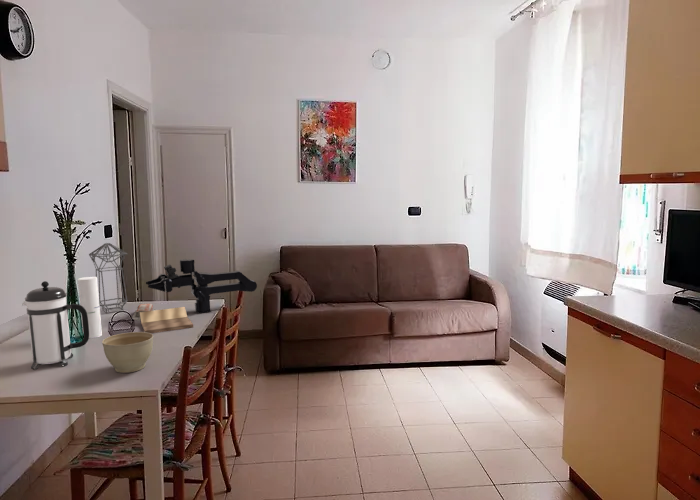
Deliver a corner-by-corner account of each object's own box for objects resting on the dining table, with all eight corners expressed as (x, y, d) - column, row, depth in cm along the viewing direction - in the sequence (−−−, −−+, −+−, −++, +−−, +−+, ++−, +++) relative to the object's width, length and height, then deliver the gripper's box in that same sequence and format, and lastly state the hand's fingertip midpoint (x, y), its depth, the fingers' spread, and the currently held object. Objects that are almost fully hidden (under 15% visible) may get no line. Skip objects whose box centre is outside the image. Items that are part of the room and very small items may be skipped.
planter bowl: (153, 373, 171) (151, 342, 170) (101, 379, 167) (98, 347, 165) (157, 358, 187) (155, 329, 185) (109, 363, 182) (106, 334, 181)
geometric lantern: (99, 316, 252) (93, 245, 247) (93, 310, 264) (87, 243, 260) (133, 311, 261) (127, 242, 257) (125, 305, 274) (120, 240, 269)
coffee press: (44, 374, 173) (35, 287, 170) (20, 366, 182) (11, 283, 178) (92, 358, 188) (85, 278, 184) (68, 352, 196) (61, 275, 193)
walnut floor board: (187, 320, 240) (187, 317, 240) (193, 327, 227) (193, 324, 227) (142, 326, 231) (141, 323, 230) (145, 334, 218) (145, 330, 218)
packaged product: (134, 303, 258) (156, 302, 260) (135, 313, 258) (156, 311, 261) (130, 312, 241) (153, 310, 243) (131, 322, 241) (153, 320, 244)
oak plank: (184, 309, 246) (184, 306, 245) (187, 319, 241) (187, 316, 240) (139, 314, 237) (139, 312, 236) (141, 325, 232) (141, 323, 231)
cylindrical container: (105, 334, 219) (100, 277, 216) (91, 339, 213) (85, 280, 210) (94, 332, 222) (89, 276, 219) (79, 337, 216) (74, 279, 213)
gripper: (176, 262, 257) (143, 265, 250) (183, 267, 240) (147, 270, 233) (178, 284, 258) (145, 287, 251) (184, 290, 242) (149, 294, 235)
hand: (147, 284), depth 243 cm, fingers open, 9 cm apart
